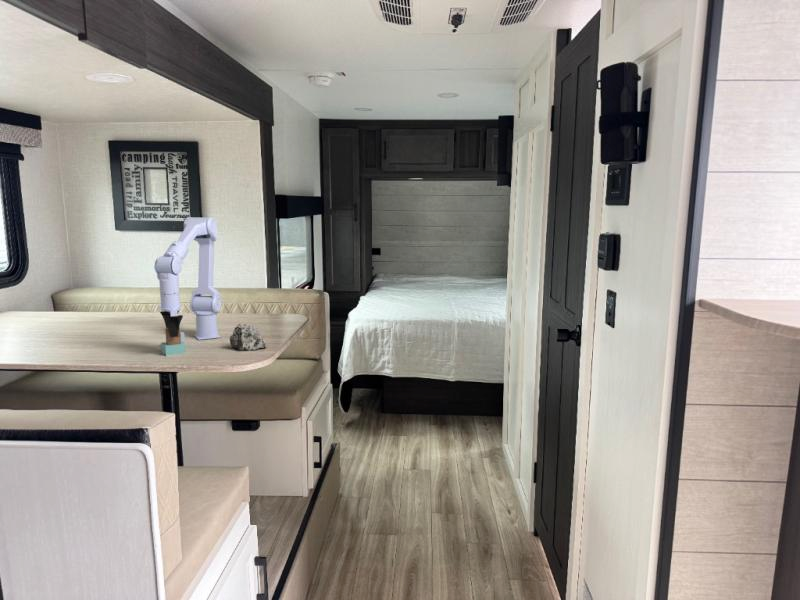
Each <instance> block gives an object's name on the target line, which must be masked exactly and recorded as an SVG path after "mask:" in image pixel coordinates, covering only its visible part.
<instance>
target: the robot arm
mask: <svg viewBox="0 0 800 600" xmlns="http://www.w3.org/2000/svg"><path fill="white" fill-rule="evenodd" d="M181 232H182V233H181V234H180V236H179V238H178V240H174V241H172V242H171V244H170V245H169V247H168V249H167V250H166V251H165V252H164V254H163V255H162V256H158V257H157V258H156V259H155V262H154V266H153V267H154V272H155V273H156V278H157V280H159V281H158V282H159V292H160V293H159V294H160V295H159V296H160V306H157V308H156V310H157V311H159V312H160V315H161V316H162V319H163V322H164V326H165V328H168V329H169V333H170V336H171V337H178V333H179V328H180V326H181V322H182V320H183V317H184V315H182V314H179V312H180V310H181V309H182V306H181V296H180V295H181V294H180V282H179V281H180V280H179V274H180V273H181V272H182V267H183V265H184V264H183V263H184V262H183V260H184V259H185V258H186V256H187V255H188V253H189V246H190V245H191V243H192V242H193V241H195V242H197V243H198V245H199V246H198V247H199V248H198V278H197V279H198V280H197V281H198V282H197V283H198V285H197V287H196V288H195V289H194V290H192V292H191V297H190V301H189V307H190V310H191V311H192V312H193V315H195V325H196V326H195V328H196V332H195V333H194V334H193V335H194V337H195V338H196V340H199V341H201V340H209V339H219V338H221V335H220V334H219V333H218V316H217V314H218V313H219V312H220V310H221V309H222V299H221V292H220V291H218V290H217V289H216V288H214V263H215V262H214V259H215V257H214V255H215V254H214V253H215V242H216V241H217V240H218V223H217V221H216V220H215V218H214V217H212V216H209V217H194V216H193V217H191V216H187V217H186V218H185V220H184V222H183V230H182V231H181ZM178 314H179V315H178Z"/></svg>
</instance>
